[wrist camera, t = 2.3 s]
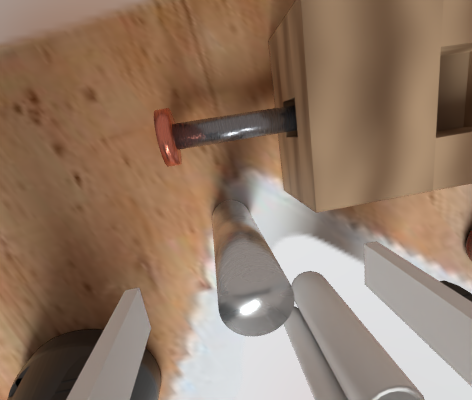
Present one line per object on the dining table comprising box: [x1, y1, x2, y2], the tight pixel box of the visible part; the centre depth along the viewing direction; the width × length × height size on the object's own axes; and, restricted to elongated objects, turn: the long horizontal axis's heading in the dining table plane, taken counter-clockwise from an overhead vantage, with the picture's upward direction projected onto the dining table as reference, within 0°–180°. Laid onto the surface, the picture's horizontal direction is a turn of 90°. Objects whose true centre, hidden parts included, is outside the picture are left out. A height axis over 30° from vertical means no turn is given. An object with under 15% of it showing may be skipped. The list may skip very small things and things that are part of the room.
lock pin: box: [154, 105, 297, 167], centre depth 20 cm, size 14×4×4 cm, turn 99°
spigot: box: [212, 200, 295, 336], centre depth 20 cm, size 4×4×14 cm
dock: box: [268, 0, 472, 213], centre depth 21 cm, size 17×14×8 cm
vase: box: [284, 271, 424, 400], centre depth 21 cm, size 11×7×20 cm, turn 35°
